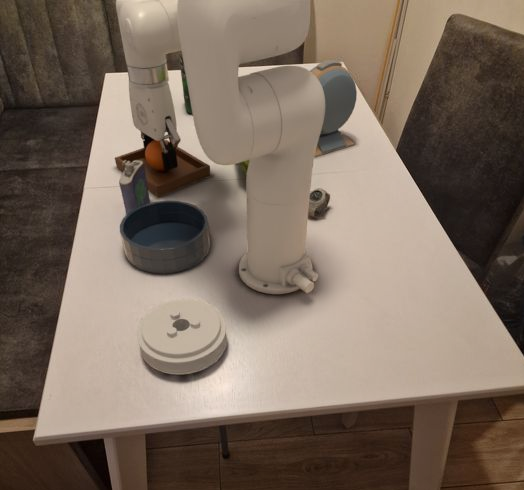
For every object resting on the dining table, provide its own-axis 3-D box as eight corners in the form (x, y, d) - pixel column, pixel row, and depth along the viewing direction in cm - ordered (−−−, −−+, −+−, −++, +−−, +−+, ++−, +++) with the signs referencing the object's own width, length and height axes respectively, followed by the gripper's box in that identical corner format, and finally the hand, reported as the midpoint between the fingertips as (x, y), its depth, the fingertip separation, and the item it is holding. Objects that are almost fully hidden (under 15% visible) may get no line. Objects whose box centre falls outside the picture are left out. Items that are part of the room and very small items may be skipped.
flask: (138, 227, 92) (127, 174, 84) (124, 226, 92) (111, 173, 85) (153, 202, 98) (143, 150, 90) (139, 201, 99) (128, 149, 91)
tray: (210, 176, 106) (209, 165, 104) (158, 197, 100) (156, 186, 98) (167, 149, 114) (166, 139, 112) (116, 168, 108) (114, 157, 106)
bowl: (226, 249, 88) (225, 225, 84) (155, 285, 81) (150, 261, 77) (178, 214, 95) (175, 191, 92) (109, 244, 88) (103, 221, 85)
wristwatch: (302, 216, 95) (304, 193, 91) (319, 203, 98) (321, 180, 95) (317, 222, 94) (319, 199, 90) (334, 209, 97) (337, 186, 93)
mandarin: (183, 170, 106) (179, 141, 101) (158, 179, 103) (153, 150, 99) (166, 159, 109) (162, 131, 105) (142, 168, 107) (136, 139, 102)
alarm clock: (332, 128, 122) (341, 49, 109) (357, 143, 117) (370, 62, 104) (286, 142, 117) (289, 60, 104) (309, 158, 112) (316, 74, 98)
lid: (134, 378, 67) (127, 354, 64) (148, 316, 76) (142, 291, 72) (225, 378, 67) (223, 355, 64) (229, 316, 76) (227, 291, 72)
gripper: (107, 64, 95) (125, 153, 108) (156, 90, 86) (169, 183, 99) (140, 56, 98) (154, 144, 111) (190, 80, 89) (199, 172, 103)
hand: (161, 162), depth 105 cm, fingers closed on mandarin, 6 cm apart
